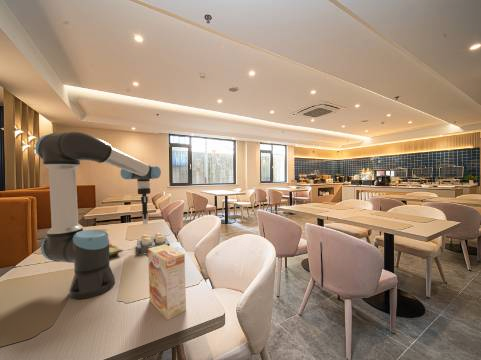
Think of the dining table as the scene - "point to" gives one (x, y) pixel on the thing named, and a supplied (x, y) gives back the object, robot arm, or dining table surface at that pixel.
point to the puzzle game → (114, 250)
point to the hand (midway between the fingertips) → (145, 223)
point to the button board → (153, 244)
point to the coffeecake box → (167, 280)
